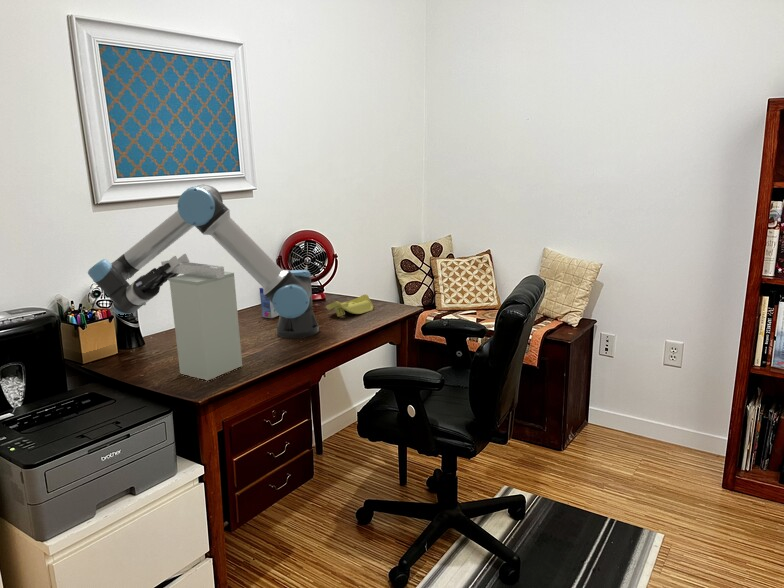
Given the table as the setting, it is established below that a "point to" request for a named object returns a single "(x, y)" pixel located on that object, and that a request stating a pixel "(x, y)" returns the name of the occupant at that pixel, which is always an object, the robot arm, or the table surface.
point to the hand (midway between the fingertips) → (181, 258)
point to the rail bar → (198, 270)
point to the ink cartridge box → (267, 306)
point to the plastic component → (352, 306)
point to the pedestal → (206, 324)
